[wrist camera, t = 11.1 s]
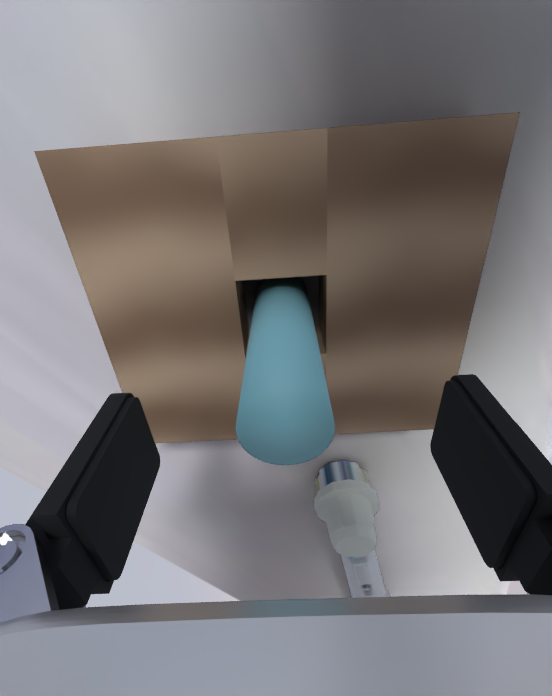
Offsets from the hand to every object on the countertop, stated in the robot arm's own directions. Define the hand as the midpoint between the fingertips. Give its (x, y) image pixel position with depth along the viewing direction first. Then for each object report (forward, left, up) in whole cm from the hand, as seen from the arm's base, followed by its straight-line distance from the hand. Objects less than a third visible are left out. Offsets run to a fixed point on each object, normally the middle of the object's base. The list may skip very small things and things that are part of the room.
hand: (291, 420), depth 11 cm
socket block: (+1, 0, -13) cm, 13 cm away
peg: (+1, 0, -12) cm, 12 cm away
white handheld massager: (+28, +6, -13) cm, 31 cm away
